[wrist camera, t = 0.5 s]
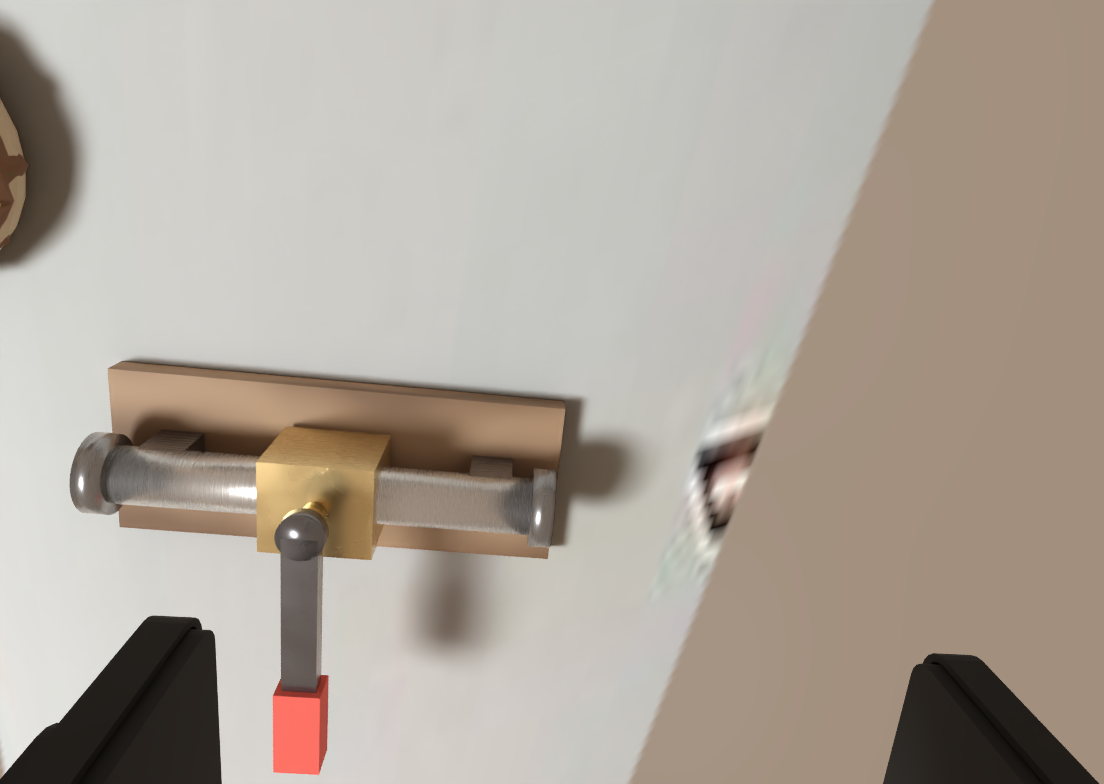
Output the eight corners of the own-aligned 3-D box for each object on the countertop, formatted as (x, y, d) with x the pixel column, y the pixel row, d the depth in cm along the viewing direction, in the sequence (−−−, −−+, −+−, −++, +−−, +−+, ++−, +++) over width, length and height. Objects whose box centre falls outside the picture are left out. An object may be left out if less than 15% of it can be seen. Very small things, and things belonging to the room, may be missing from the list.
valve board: (121, 361, 44) (29, 410, 35) (564, 401, 45) (573, 456, 37) (132, 515, 47) (49, 593, 38) (546, 546, 48) (552, 627, 40)
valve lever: (282, 502, 37) (271, 519, 36) (331, 506, 38) (322, 523, 36) (283, 746, 42) (273, 772, 40) (327, 749, 42) (318, 774, 40)
